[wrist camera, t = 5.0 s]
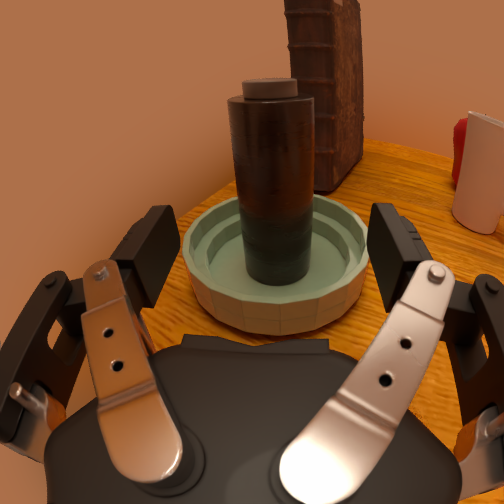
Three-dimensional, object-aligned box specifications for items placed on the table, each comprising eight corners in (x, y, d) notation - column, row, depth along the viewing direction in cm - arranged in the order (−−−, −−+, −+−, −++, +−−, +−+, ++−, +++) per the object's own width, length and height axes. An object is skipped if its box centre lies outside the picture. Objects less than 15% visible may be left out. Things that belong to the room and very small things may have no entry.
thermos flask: (263, 295, 19) (246, 84, 11) (235, 256, 23) (214, 83, 15) (322, 271, 20) (331, 80, 12) (289, 238, 24) (284, 76, 16)
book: (327, 199, 30) (321, -31, 15) (272, 185, 34) (257, -21, 18) (367, 157, 40) (367, 3, 25) (326, 149, 44) (321, 3, 29)
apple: (501, 200, 29) (518, 126, 22) (483, 212, 27) (503, 123, 19) (459, 175, 35) (470, 106, 28) (435, 183, 33) (446, 102, 26)
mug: (439, 210, 27) (458, 108, 20) (464, 201, 29) (482, 113, 22) (505, 260, 20) (542, 148, 12) (522, 242, 21) (552, 147, 14)
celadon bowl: (230, 373, 15) (219, 338, 13) (176, 250, 25) (167, 216, 23) (397, 290, 19) (409, 252, 17) (303, 211, 29) (304, 179, 26)
